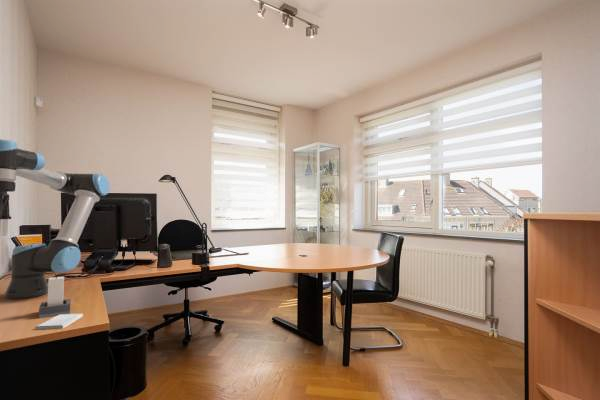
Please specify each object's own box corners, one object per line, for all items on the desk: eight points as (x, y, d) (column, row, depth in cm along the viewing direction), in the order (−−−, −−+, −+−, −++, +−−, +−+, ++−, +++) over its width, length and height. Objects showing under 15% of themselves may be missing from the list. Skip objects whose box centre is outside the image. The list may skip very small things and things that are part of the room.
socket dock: (41, 311, 119) (41, 302, 119) (70, 307, 124) (70, 298, 124) (38, 318, 112) (39, 308, 112) (69, 313, 117) (70, 304, 117)
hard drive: (63, 325, 102) (83, 313, 114) (35, 326, 101) (58, 314, 113) (62, 330, 102) (82, 317, 114) (34, 331, 101) (58, 318, 113)
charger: (48, 309, 118) (49, 277, 119) (62, 307, 121) (64, 275, 122) (47, 312, 115) (48, 279, 115) (62, 310, 117) (63, 277, 118)
